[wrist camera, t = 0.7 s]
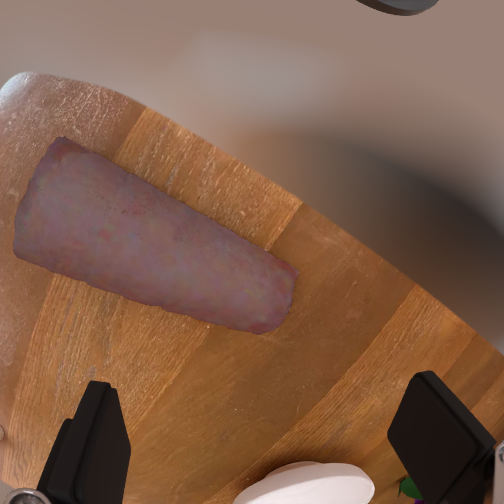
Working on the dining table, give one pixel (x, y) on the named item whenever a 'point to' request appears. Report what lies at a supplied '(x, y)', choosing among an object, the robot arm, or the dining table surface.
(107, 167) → the brown tapered cylinder
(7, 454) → the dining table surface
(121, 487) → the robot arm
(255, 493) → the bowl
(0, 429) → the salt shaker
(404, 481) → the flower
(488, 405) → the dining table surface
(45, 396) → the dining table surface
